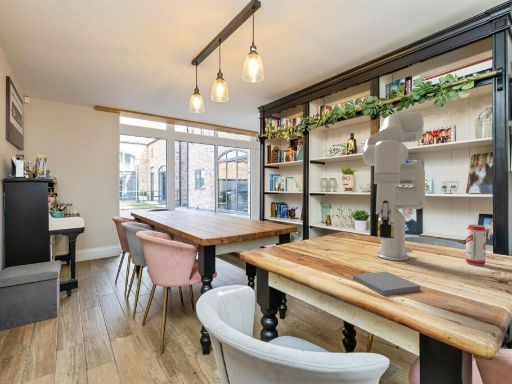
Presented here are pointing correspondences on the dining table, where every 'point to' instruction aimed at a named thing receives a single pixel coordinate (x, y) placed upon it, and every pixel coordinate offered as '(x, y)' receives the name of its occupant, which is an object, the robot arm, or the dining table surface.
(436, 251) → the dining table surface
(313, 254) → the dining table surface
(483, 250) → the beer can
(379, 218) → the supplement bottle
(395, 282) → the slate board
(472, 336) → the dining table surface
